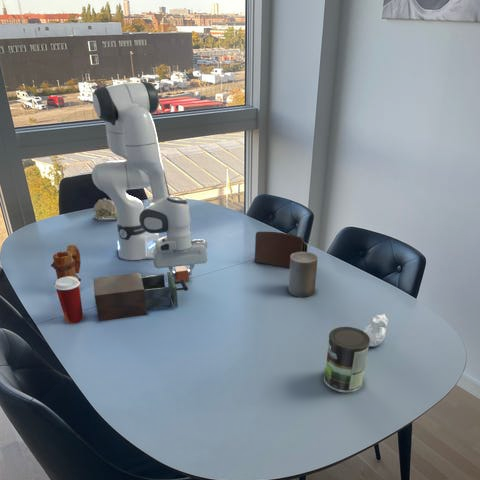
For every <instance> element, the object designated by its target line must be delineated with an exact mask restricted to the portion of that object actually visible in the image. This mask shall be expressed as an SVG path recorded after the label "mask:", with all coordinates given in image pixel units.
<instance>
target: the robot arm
mask: <svg viewBox="0 0 480 480" xmlns="http://www.w3.org/2000/svg"><path fill="white" fill-rule="evenodd" d="M92 106H93V109H94V112H95V114H96V117H98V118H99V119H100V120H102V122H105V123H104V124H105V132H106V141H107V147H108V148H109V150H110V151H111V152H112V153H113V154H115V155H116V156H118V157H121V158H123V159H124V160H111V161H104V162H100V163H96V164H95V165H94V167H93V168H92V171H91V179H92V182H93V184H94V185H95V187H96V188H97V189H98V190H100V191H101V192H102V193H105V194H106V195H107V196H108V197H109V199H110V200H111V201H112V202H113V203H114V206H115V209H116V213H117V223H116V228H117V233H118V234H117V236H118V237H117V238H118V240H117V252H118V255H117V256H118V257H119V258H120V259H122V260H124V261H139V260H150V259H153V266H154V268H155V269H158V270H159V269H164V268H165V269H166V268H168V270H169V272H171V275H172V277H173V278H175V277H176V272H175V270H174V267H179V266H189V268H187V269H188V272H189V276H192V271H193V270H194V268H195V265H201V264H206V263H207V262H208V259H209V258H208V251H207V249H208V242H207V240H205V239H203V238H200V239H192V231H191V228H190V226H191V212H190V206H189V203H188V201H187V200H186V199H185V198H183V197H182V196H177V195H171V193H170V190H169V185H168V181H167V176H166V172H165V168H164V164H163V162H162V158H161V151H160V145H159V140H158V135H157V130H156V126H155V122H154V120H153V116H152V115H153V114H156V113H157V112H158V110H159V108H160V98H159V93H158V91H157V88H156V86H155V85H154V84H153V82H150V81H140V82H139V81H136V82H135V81H131V82H128V81H127V82H122V83H117V84H112V85H108V86H105V85H103V86H100V87H98V88H96V89H95V90H94V91H93V93H92ZM147 188H149V189H150V192H151V195H152V196H151V197H152V199H151V203H150V204H149V205H147V206H146V207H145V208H144V204H143V202H142V201H141V200H140V199H139V198H137V197H134V196H132V195H129V194H128V193H127V191H128V190H138V189H139V190H140V189H147ZM162 233H166V235H164V236H163V237H161V236H160V234H162Z"/></svg>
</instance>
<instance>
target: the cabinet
mask: <svg viewBox="0 0 480 480" xmlns="http://www.w3.org/2000/svg"><path fill="white" fill-rule="evenodd" d="M141 277H142V275H141V272H132V273H124V274H116V275H115V274H114V275H107V276H97V277H93V279H92V280H93V293H94V294H93V295H94V301H95V307H96V312H97V318H98V322H105V321H113V320H120V319H122V320H123V319H129V318H134V317H143V316H147V315H148V310H146V301H145V293H144V287H143V283H142V279H141Z"/></svg>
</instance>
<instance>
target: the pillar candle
mask: <svg viewBox="0 0 480 480" xmlns="http://www.w3.org/2000/svg"><path fill="white" fill-rule="evenodd" d="M318 259H319V257H318V256H317V255H316V254H315V253H313V252H309V251H307V252H296V253H293V254H291V256H290V268H289V275H288V292H289V294H291V295H292V296H294V297H298V298H306V297H310V296H313V295H314V294H315V292H316V291H315V290H316V280H317V271H318Z"/></svg>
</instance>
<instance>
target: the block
mask: <svg viewBox="0 0 480 480" xmlns="http://www.w3.org/2000/svg"><path fill="white" fill-rule="evenodd" d="M188 269H189V268H188V265H185V266H176V267H173V270H174V271H175V272H176V277H174V279H175V280H176V281H175V282H180V281H181V280H185V282H186V283H187V282H190V275H189V272H188Z"/></svg>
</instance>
